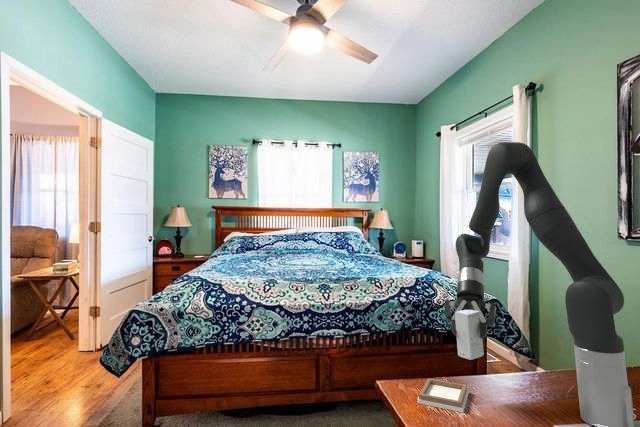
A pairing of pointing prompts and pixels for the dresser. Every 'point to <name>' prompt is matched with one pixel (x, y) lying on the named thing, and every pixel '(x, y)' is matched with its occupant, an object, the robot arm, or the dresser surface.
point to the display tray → (444, 395)
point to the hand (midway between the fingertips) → (468, 335)
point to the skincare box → (468, 334)
